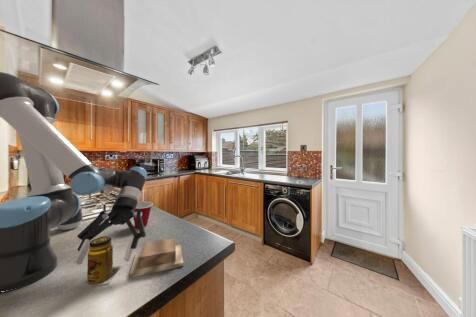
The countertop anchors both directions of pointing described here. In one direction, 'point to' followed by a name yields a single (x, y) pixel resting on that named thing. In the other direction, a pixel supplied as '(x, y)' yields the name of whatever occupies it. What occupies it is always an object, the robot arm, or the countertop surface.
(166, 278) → the countertop surface
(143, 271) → the base board
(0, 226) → the robot arm
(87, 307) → the countertop surface
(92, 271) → the condiment
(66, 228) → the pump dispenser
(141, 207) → the plastic cup
